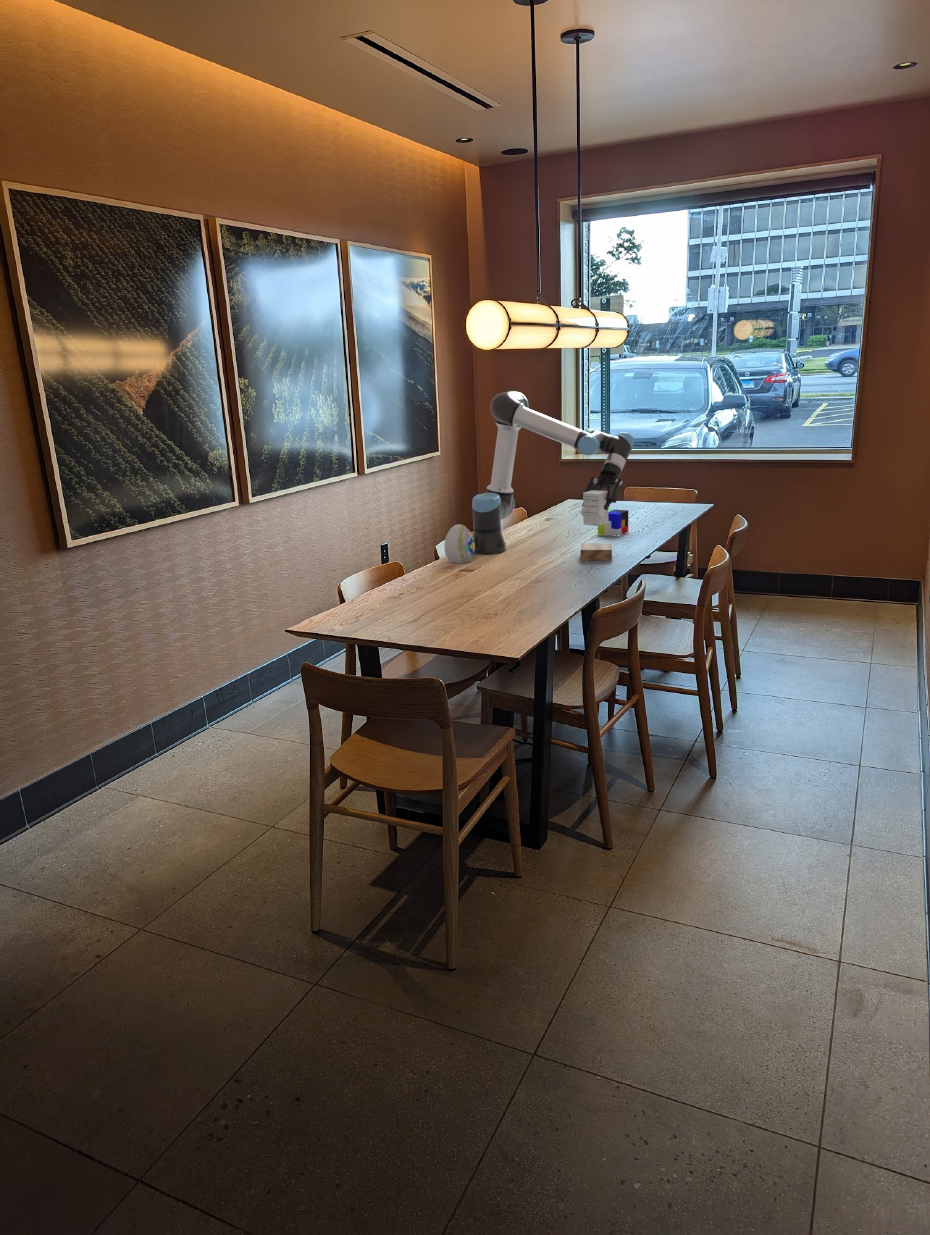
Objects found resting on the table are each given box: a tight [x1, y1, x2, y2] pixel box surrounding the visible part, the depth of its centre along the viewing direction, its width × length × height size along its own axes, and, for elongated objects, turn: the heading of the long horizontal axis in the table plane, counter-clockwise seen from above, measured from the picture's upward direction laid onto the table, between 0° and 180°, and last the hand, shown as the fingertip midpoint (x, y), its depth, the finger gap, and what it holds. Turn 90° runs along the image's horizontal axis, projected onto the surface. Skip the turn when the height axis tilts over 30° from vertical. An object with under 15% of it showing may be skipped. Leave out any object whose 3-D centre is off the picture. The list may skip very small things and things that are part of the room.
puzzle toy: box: [597, 508, 629, 537], centre depth 375 cm, size 10×10×10 cm
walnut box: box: [580, 542, 613, 563], centre depth 331 cm, size 12×12×5 cm
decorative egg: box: [443, 523, 475, 564], centre depth 335 cm, size 12×12×15 cm
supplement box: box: [582, 490, 608, 527], centre depth 326 cm, size 7×7×13 cm
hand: (591, 515), depth 324 cm, fingers closed on supplement box, 7 cm apart
